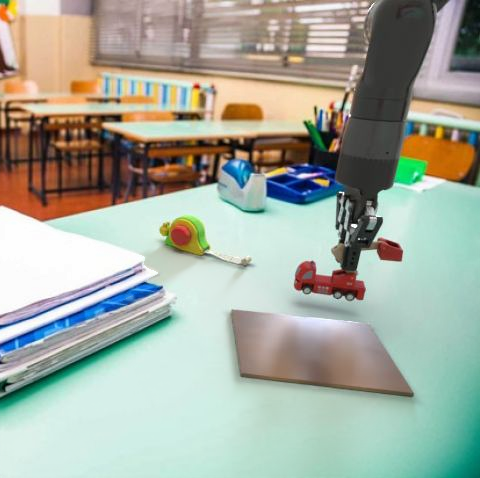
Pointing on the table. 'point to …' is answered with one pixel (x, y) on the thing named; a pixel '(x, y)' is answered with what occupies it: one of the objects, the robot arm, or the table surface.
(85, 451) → the table surface
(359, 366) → the metal plate
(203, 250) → the toy measuring tape
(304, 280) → the toy fire truck
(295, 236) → the table surface
